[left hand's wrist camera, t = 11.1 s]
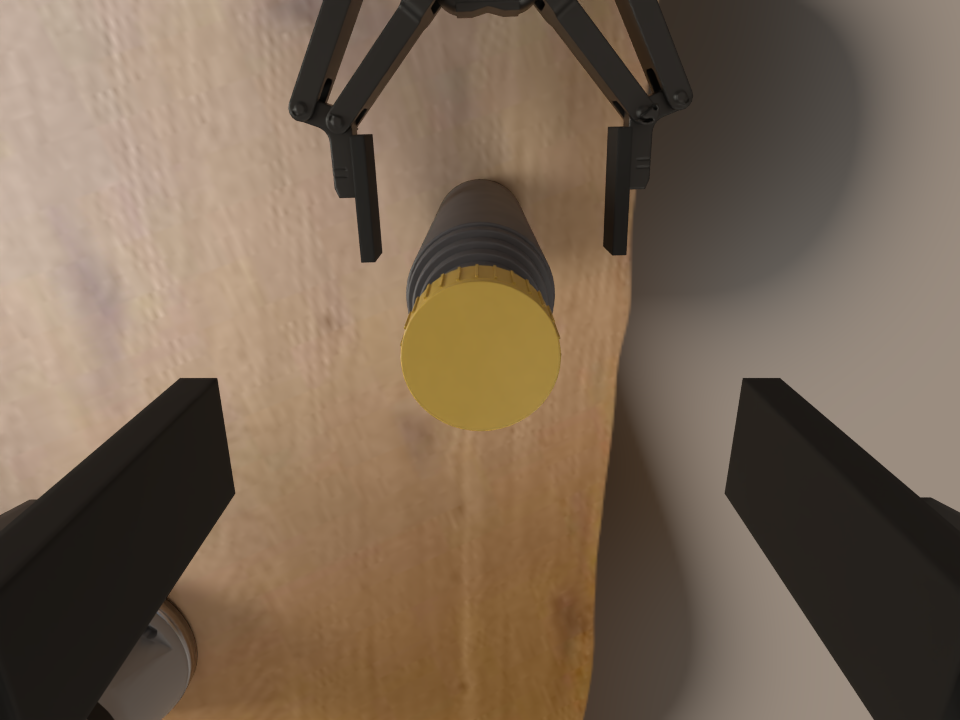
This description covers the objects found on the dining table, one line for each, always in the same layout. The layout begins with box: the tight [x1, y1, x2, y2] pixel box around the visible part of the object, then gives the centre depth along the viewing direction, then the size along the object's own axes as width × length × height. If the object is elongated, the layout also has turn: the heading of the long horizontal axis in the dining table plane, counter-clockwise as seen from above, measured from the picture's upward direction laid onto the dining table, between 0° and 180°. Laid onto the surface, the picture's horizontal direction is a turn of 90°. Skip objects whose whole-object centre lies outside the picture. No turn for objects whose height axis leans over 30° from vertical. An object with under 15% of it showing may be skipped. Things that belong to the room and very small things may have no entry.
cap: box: [400, 264, 561, 431], centre depth 19 cm, size 5×5×2 cm
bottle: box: [406, 179, 555, 313], centre depth 30 cm, size 6×6×25 cm
